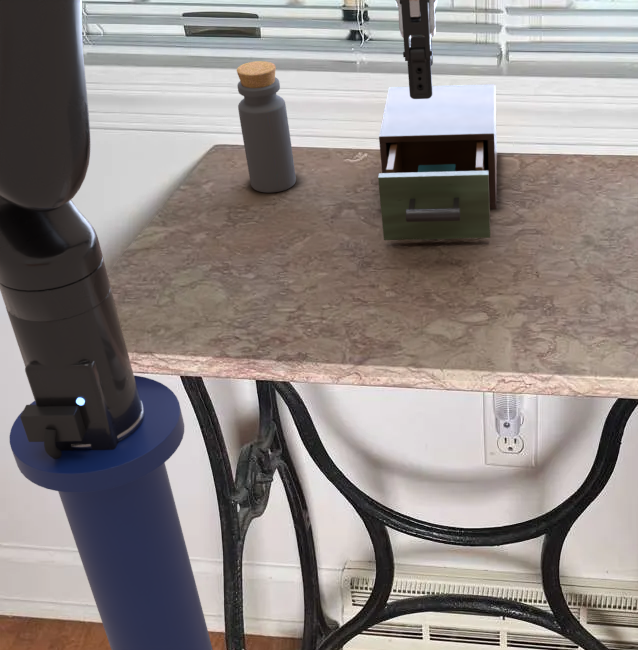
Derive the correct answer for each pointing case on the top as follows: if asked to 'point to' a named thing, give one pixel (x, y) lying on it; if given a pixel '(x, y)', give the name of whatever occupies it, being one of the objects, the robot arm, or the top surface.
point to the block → (437, 168)
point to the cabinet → (443, 121)
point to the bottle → (265, 128)
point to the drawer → (435, 191)
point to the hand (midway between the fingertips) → (421, 81)
